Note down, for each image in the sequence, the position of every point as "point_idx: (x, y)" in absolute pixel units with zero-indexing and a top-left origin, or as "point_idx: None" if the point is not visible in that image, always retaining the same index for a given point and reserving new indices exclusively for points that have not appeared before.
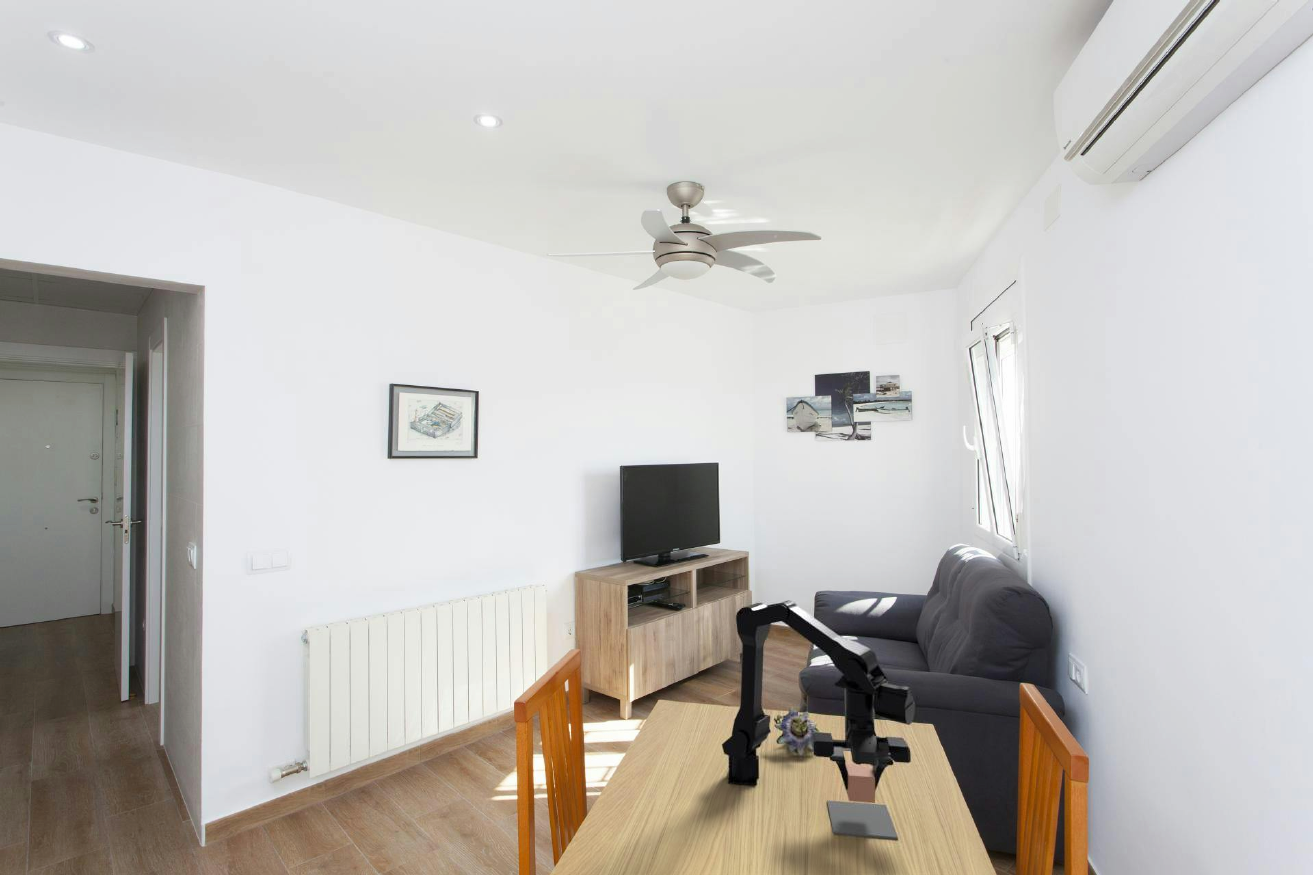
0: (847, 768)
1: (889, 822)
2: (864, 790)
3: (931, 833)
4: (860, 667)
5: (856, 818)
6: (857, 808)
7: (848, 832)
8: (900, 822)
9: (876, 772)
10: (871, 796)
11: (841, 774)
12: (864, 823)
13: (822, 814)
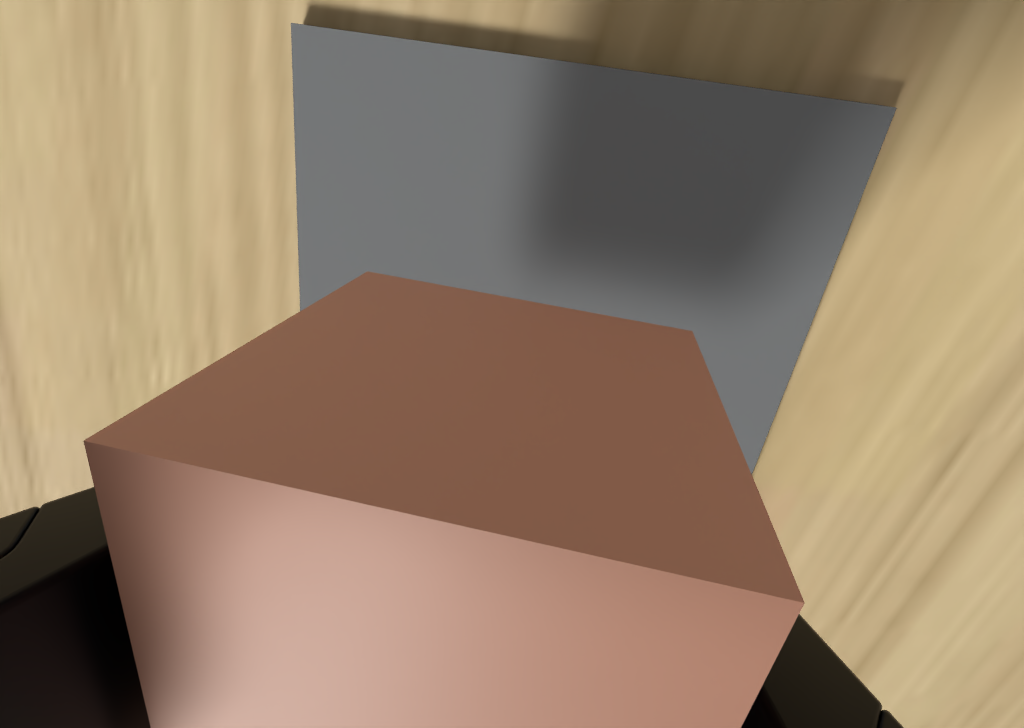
0: None
1: (321, 267)
2: (455, 352)
3: (45, 133)
4: None
5: None
6: None
7: (740, 95)
8: (246, 290)
9: (6, 591)
10: (380, 300)
11: (874, 705)
12: (528, 256)
13: (827, 426)
